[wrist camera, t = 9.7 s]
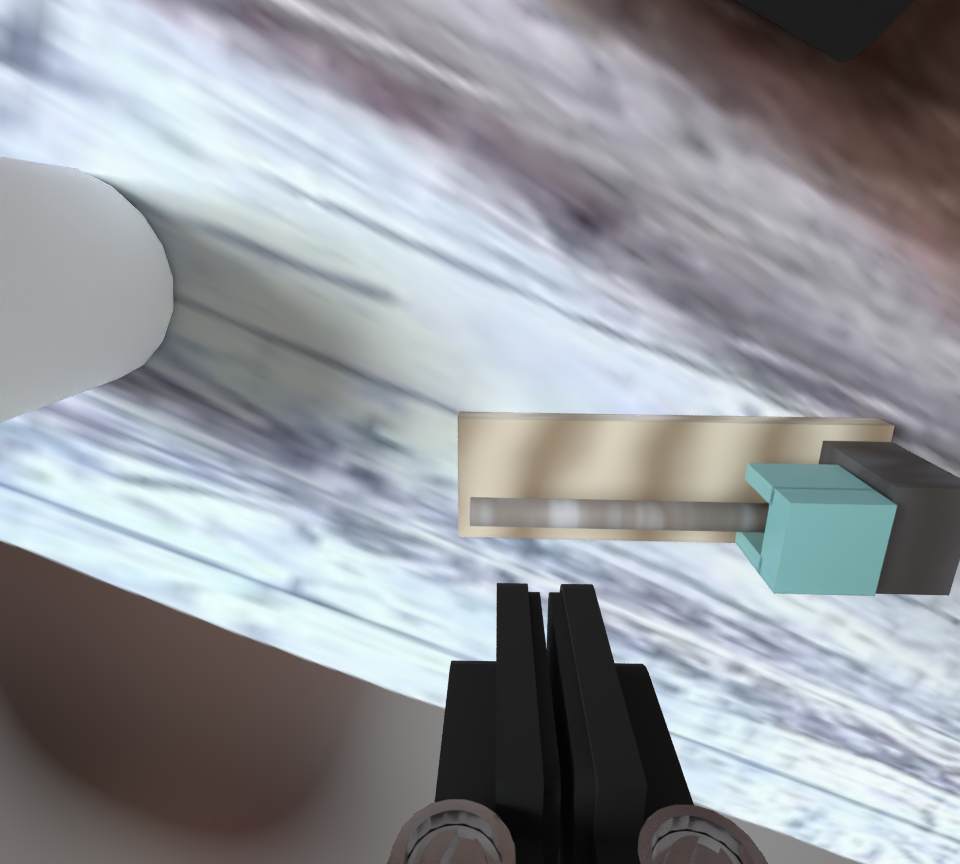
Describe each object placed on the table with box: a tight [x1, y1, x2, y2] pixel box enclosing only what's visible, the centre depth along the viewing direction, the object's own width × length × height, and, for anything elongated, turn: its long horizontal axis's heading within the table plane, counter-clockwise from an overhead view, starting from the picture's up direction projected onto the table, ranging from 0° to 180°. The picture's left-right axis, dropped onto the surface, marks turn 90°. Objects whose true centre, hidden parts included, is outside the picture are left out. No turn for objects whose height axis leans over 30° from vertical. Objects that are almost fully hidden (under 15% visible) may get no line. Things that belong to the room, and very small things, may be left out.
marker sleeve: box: [735, 463, 897, 596], centre depth 32 cm, size 5×5×5 cm
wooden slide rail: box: [458, 412, 960, 595], centre depth 34 cm, size 26×8×8 cm, turn 90°
